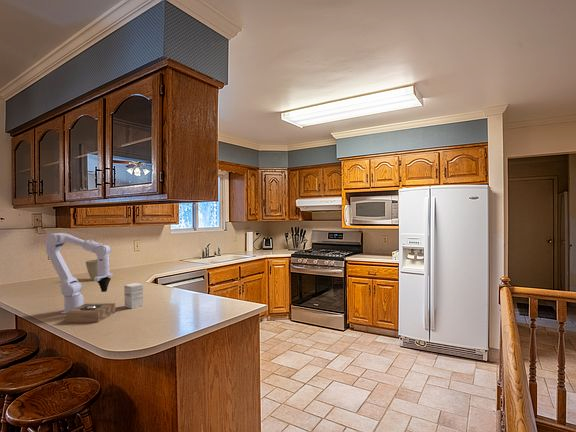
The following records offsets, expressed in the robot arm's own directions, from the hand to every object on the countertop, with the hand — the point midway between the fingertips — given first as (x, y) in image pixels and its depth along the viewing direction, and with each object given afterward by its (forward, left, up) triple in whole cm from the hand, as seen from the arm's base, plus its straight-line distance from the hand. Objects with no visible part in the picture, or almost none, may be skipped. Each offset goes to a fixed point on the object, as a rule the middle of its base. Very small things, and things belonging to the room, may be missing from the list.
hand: (104, 291), depth 182 cm
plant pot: (-87, -54, -11) cm, 103 cm away
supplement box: (-7, +13, -11) cm, 18 cm away
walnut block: (+12, 0, -10) cm, 16 cm away
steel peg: (+12, 0, -10) cm, 16 cm away
